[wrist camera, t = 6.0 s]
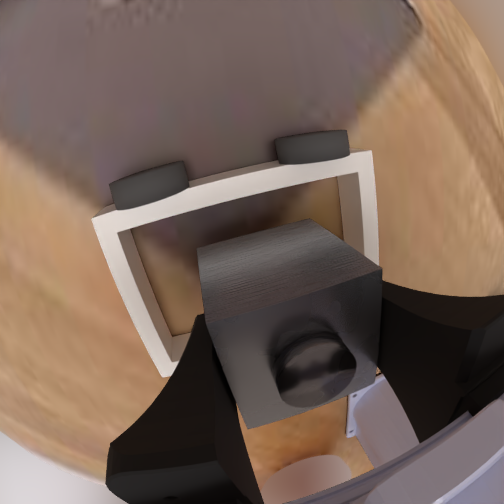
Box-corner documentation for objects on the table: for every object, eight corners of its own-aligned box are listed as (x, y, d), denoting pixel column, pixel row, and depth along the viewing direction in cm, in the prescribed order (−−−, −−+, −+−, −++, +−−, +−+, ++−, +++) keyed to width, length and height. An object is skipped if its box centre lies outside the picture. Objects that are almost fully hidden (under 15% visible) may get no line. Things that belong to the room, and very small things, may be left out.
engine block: (320, 311, 15) (384, 396, 9) (225, 340, 14) (252, 446, 8) (309, 218, 13) (398, 280, 7) (196, 248, 12) (208, 343, 6)
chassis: (359, 306, 20) (385, 334, 17) (169, 364, 19) (169, 402, 15) (344, 127, 15) (380, 127, 12) (98, 185, 14) (75, 198, 11)
